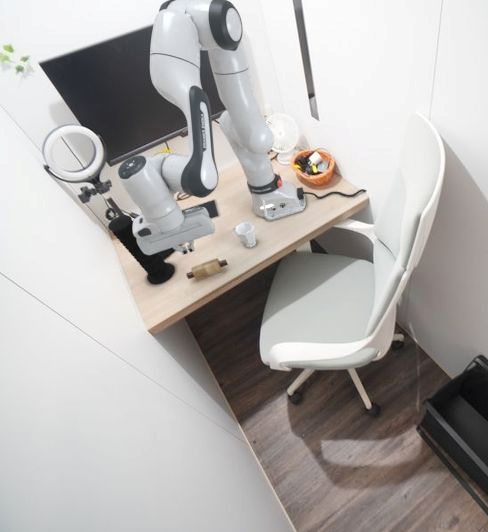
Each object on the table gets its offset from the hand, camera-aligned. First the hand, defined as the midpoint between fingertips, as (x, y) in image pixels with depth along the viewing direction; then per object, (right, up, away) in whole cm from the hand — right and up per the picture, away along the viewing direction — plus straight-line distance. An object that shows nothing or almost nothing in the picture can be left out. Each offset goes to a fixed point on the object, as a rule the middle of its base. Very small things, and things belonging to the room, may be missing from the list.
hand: (188, 251), depth 96 cm
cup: (+10, +5, +28) cm, 30 cm away
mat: (-16, +19, +43) cm, 50 cm away
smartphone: (-23, 0, +29) cm, 37 cm away
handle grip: (-20, -7, +22) cm, 31 cm away
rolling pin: (-1, -7, +19) cm, 20 cm away
